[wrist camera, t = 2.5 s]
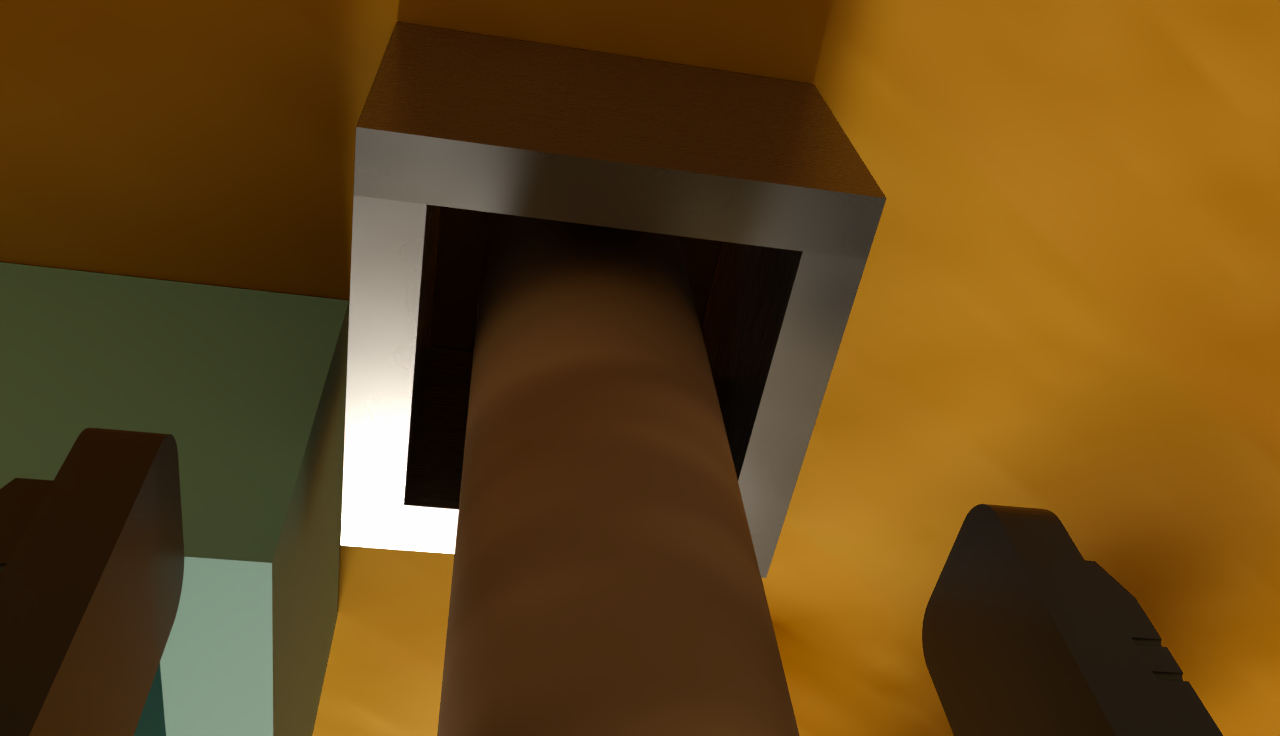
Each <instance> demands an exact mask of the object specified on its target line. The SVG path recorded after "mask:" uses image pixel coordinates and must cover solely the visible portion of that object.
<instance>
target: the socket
mask: <svg viewBox="0 0 1280 736" xmlns="http://www.w3.org/2000/svg"><path fill="white" fill-rule="evenodd" d="M348 314H349V301H348V300H339V299H330V298H321V297H312V296H303V295H294V294H284V293H275V292H266V291H257V290H248V289H239V288H230V287H221V286H212V285H203V284H194V283H185V282H176V281H166V280H157V279H148V278H139V277H130V276H121V275H112V274H103V273H94V272H85V271H76V270H67V269H58V268H48V267H39V266H30V265H21V264H12V263H3V262H0V489H1V488H2V487H4V486H5V485H6V484H8V483H9V482H10V481H12V480H13V479H14V478H27V479H40V480H54V479H55V477H56V475H57V473H58V471H59V470H60V468H61V466H62V464H63V463H64V461H65V459H66V457H67V455H68V454H69V452H70V450H71V448H72V447H73V445H74V443H75V441H76V439H77V438H78V436H79V435H80V433H81V432H82V431H83V430H84V429H86V428H102V429H114V430H126V431H138V432H150V433H162V434H171V435H173V436H174V438H175V440H176V444H177V449H178V461H179V477H180V493H181V509H182V524H183V540H184V575H183V584H182V591H181V596H180V602H179V606H178V610H177V614H176V618H175V621H174V624H173V627H172V629H171V632H170V635H169V638H168V641H167V643H166V646H165V649H164V652H163V655H162V657H161V660H160V663H159V666H158V669H157V671H156V674H155V677H154V680H153V683H152V685H151V688H150V691H149V694H148V697H147V699H146V702H145V705H144V708H143V711H142V713H141V716H140V719H139V722H138V725H137V727H136V730H135V733H134V736H312V734H313V729H314V724H315V720H316V715H317V710H318V705H319V701H320V696H321V691H322V686H323V682H324V677H325V672H326V667H327V662H328V658H329V653H330V648H331V643H332V639H333V634H334V629H335V624H336V619H337V610H338V583H339V556H340V529H341V502H342V476H343V449H344V422H345V395H346V368H347V341H348Z"/></svg>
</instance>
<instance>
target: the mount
mask: <svg viewBox="0 0 1280 736" xmlns="http://www.w3.org/2000/svg"><path fill="white" fill-rule="evenodd" d="M885 201H886V197H885V195H884V194H883V192H882V191H881V189H880V187H879V186H878V184H877V183H876V181H875V180H874V178H873V176H872V175H871V173H870V172H869V170H868V169H867V167H866V165H865V164H864V162H863V161H862V159H861V158H860V156H859V154H858V153H857V151H856V150H855V148H854V147H853V145H852V143H851V142H850V140H849V139H848V137H847V136H846V134H845V132H844V131H843V129H842V128H841V126H840V125H839V123H838V121H837V120H836V118H835V117H834V115H833V113H832V112H831V110H830V109H829V107H828V106H827V104H826V102H825V101H824V99H823V98H822V96H821V95H820V93H819V91H818V90H817V88H816V87H815V85H813V84H807V83H800V82H794V81H787V80H780V79H774V78H767V77H760V76H754V75H747V74H740V73H734V72H727V71H720V70H714V69H707V68H700V67H694V66H687V65H680V64H674V63H667V62H660V61H654V60H647V59H640V58H634V57H627V56H620V55H614V54H607V53H600V52H594V51H587V50H580V49H574V48H567V47H560V46H554V45H547V44H540V43H534V42H527V41H520V40H514V39H507V38H501V37H494V36H487V35H481V34H474V33H467V32H461V31H454V30H447V29H441V28H434V27H427V26H421V25H414V24H407V23H401V22H396V25H395V28H394V30H393V33H392V35H391V38H390V41H389V43H388V46H387V48H386V51H385V54H384V56H383V59H382V61H381V64H380V67H379V69H378V72H377V74H376V77H375V80H374V82H373V85H372V87H371V90H370V93H369V95H368V98H367V100H366V103H365V105H364V108H363V111H362V113H361V116H360V118H359V121H358V124H357V126H356V146H355V173H354V199H353V226H352V253H351V279H350V306H349V332H348V359H347V386H346V412H345V439H344V466H343V492H342V519H341V545H343V546H356V547H369V548H382V549H396V550H409V551H422V552H435V553H448V554H455V544H456V533H457V522H458V512H459V501H460V491H461V480H462V469H463V459H464V448H465V438H466V427H467V416H468V406H469V395H470V385H471V374H472V363H473V353H474V351H467V350H457V349H448V348H438V347H429V340H430V328H431V316H432V304H433V292H434V280H435V268H436V256H437V244H438V232H439V220H440V208H441V206H443V207H451V208H459V209H467V210H475V211H483V212H491V213H499V214H507V215H515V216H523V217H531V218H539V219H547V220H555V221H563V222H571V223H579V224H587V225H595V226H603V227H611V228H619V229H627V230H635V231H643V232H651V233H659V234H667V235H675V236H683V237H691V238H699V239H707V240H715V241H722V245H721V249H720V253H719V258H718V262H717V266H716V270H715V275H714V279H713V283H712V287H711V292H710V296H709V300H708V304H707V308H706V313H705V317H704V321H703V325H702V330H701V331H702V335H703V339H704V343H705V347H706V351H707V355H708V360H709V364H710V368H711V372H712V376H713V380H714V384H715V389H716V393H717V397H718V401H719V405H720V409H721V413H722V418H723V422H724V426H725V430H726V434H727V438H728V442H729V447H730V451H731V455H732V459H733V463H734V467H735V471H736V476H737V480H738V484H739V488H740V492H741V496H742V500H743V504H744V509H745V513H746V517H747V521H748V525H749V529H750V533H751V538H752V542H753V546H754V550H755V554H756V558H757V562H758V567H759V571H760V575H761V577H765V578H766V576H767V573H768V570H769V566H770V563H771V560H772V557H773V554H774V551H775V548H776V544H777V541H778V538H779V535H780V532H781V529H782V526H783V522H784V519H785V516H786V513H787V510H788V507H789V503H790V500H791V497H792V494H793V491H794V488H795V485H796V481H797V478H798V475H799V472H800V469H801V466H802V463H803V459H804V456H805V453H806V450H807V447H808V444H809V440H810V437H811V434H812V431H813V428H814V425H815V422H816V418H817V415H818V412H819V409H820V406H821V403H822V400H823V396H824V393H825V390H826V387H827V384H828V381H829V377H830V374H831V371H832V368H833V365H834V362H835V359H836V355H837V352H838V349H839V346H840V343H841V340H842V337H843V333H844V330H845V327H846V324H847V321H848V318H849V315H850V311H851V308H852V305H853V302H854V299H855V296H856V292H857V289H858V286H859V283H860V280H861V277H862V274H863V270H864V267H865V264H866V261H867V258H868V255H869V252H870V248H871V245H872V242H873V239H874V236H875V233H876V229H877V226H878V223H879V220H880V217H881V214H882V211H883V207H884V204H885Z"/></svg>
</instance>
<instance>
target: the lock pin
mask: <svg viewBox="0 0 1280 736" xmlns="http://www.w3.org/2000/svg"><path fill="white" fill-rule="evenodd" d="M437 736H799V732H798V728H797V724H796V720H795V716H794V711H793V707H792V703H791V699H790V695H789V691H788V687H787V682H786V678H785V674H784V670H783V666H782V662H781V658H780V654H779V649H778V645H777V641H776V637H775V633H774V629H773V625H772V620H771V616H770V612H769V608H768V604H767V600H766V596H765V591H764V587H763V583H762V579H761V575H760V571H759V567H758V562H757V558H756V554H755V550H754V546H753V542H752V538H751V533H750V529H749V525H748V521H747V517H746V513H745V509H744V504H743V500H742V496H741V492H740V488H739V484H738V480H737V476H736V471H735V467H734V463H733V459H732V455H731V451H730V447H729V442H728V438H727V434H726V430H725V426H724V422H723V418H722V413H721V409H720V405H719V401H718V397H717V393H716V389H715V384H714V380H713V376H712V372H711V368H710V364H709V360H708V355H707V351H706V347H705V343H704V339H703V335H702V331H701V327H700V322H699V318H698V314H697V310H696V306H695V302H694V298H693V293H692V289H691V285H690V281H689V277H688V273H687V269H686V264H685V260H684V256H683V252H682V248H681V244H680V240H679V236H675V235H667V234H659V233H651V232H643V231H635V230H627V229H619V228H611V227H603V226H595V225H587V224H579V223H571V222H563V221H555V220H547V219H539V218H531V217H523V216H515V215H507V214H499V213H491V212H489V215H488V218H487V223H486V228H485V236H484V247H483V257H482V268H481V279H480V289H479V300H478V310H477V321H476V332H475V342H474V353H473V363H472V374H471V385H470V395H469V406H468V416H467V427H466V438H465V448H464V459H463V469H462V480H461V491H460V501H459V512H458V522H457V533H456V544H455V554H454V565H453V576H452V586H451V597H450V607H449V618H448V629H447V639H446V650H445V660H444V671H443V682H442V692H441V703H440V713H439V724H438V735H437Z"/></svg>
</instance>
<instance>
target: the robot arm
mask: <svg viewBox="0 0 1280 736" xmlns="http://www.w3.org/2000/svg"><path fill="white" fill-rule="evenodd" d="M183 575H184V540H183V524H182V509H181V493H180V477H179V461H178V449H177V444H176V440H175V438H174V436H173V435H171V434H162V433H150V432H138V431H126V430H114V429H102V428H86V429H84V430H83V431H82V432H81V433H80V435H79V436H78V438H77V439H76V441H75V443H74V445H73V447H72V448H71V450H70V452H69V454H68V455H67V457H66V459H65V461H64V463H63V464H62V466H61V468H60V470H59V471H58V473H57V475H56V477H55V479H54V480H40V479H27V478H14V479H13V480H12V481H10V482H9V483H8V484H6V485H5V486H4V487H2V488H1V489H0V736H134V733H135V730H136V727H137V725H138V722H139V719H140V716H141V713H142V711H143V708H144V705H145V702H146V699H147V697H148V694H149V691H150V688H151V685H152V683H153V680H154V677H155V674H156V671H157V669H158V666H159V663H160V660H161V657H162V655H163V652H164V649H165V646H166V643H167V641H168V638H169V635H170V632H171V629H172V627H173V624H174V621H175V618H176V614H177V610H178V606H179V602H180V596H181V591H182V584H183ZM922 642H923V652H924V657H925V661H926V665H927V668H928V670H929V673H930V676H931V678H932V681H933V683H934V686H935V688H936V691H937V693H938V696H939V698H940V701H941V704H942V706H943V709H944V711H945V714H946V716H947V719H948V721H949V724H950V727H951V729H952V732H953V734H954V736H1223V735H1222V733H1221V732H1220V730H1219V728H1218V727H1217V725H1216V724H1215V722H1214V721H1213V719H1212V717H1211V716H1210V714H1209V713H1208V711H1207V710H1206V708H1205V706H1204V705H1203V703H1202V702H1201V700H1200V699H1199V697H1198V696H1197V694H1196V692H1195V691H1194V689H1193V688H1192V686H1191V685H1190V683H1189V682H1187V681H1183V679H1182V674H1183V672H1182V670H1181V669H1180V667H1179V666H1178V664H1177V663H1176V661H1175V659H1174V658H1173V656H1172V655H1171V653H1170V652H1169V650H1168V648H1167V647H1162V646H1161V637H1160V636H1159V634H1158V633H1157V631H1156V630H1155V628H1154V626H1153V625H1152V623H1151V622H1150V620H1149V619H1148V617H1147V616H1146V614H1145V612H1144V611H1143V609H1142V608H1141V606H1140V605H1139V603H1138V601H1137V600H1136V598H1135V597H1134V596H1132V595H1131V594H1130V593H1129V592H1128V591H1127V590H1126V589H1125V588H1124V587H1123V586H1121V585H1120V584H1119V583H1118V582H1117V581H1116V580H1115V579H1114V578H1113V577H1112V576H1110V575H1109V574H1108V573H1107V572H1106V571H1105V570H1104V569H1103V568H1102V567H1101V566H1099V565H1098V564H1097V563H1096V562H1095V561H1085V560H1084V559H1083V557H1082V556H1081V554H1080V552H1079V551H1078V549H1077V547H1076V546H1075V544H1074V542H1073V541H1072V539H1071V537H1070V536H1069V534H1068V533H1067V531H1066V529H1065V528H1064V526H1063V524H1062V523H1061V521H1060V520H1059V518H1058V517H1057V516H1056V515H1055V514H1054V513H1053V512H1051V511H1049V510H1045V509H1035V508H1023V507H1011V506H999V505H987V504H980V505H977V506H975V507H974V508H973V509H971V510H970V512H969V513H968V514H967V516H966V518H965V520H964V522H963V524H962V527H961V529H960V531H959V534H958V536H957V538H956V540H955V543H954V545H953V547H952V550H951V552H950V554H949V556H948V559H947V561H946V563H945V566H944V568H943V570H942V572H941V575H940V577H939V579H938V581H937V584H936V586H935V588H934V591H933V593H932V595H931V597H930V600H929V602H928V605H927V607H926V611H925V615H924V620H923V629H922Z"/></svg>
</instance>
